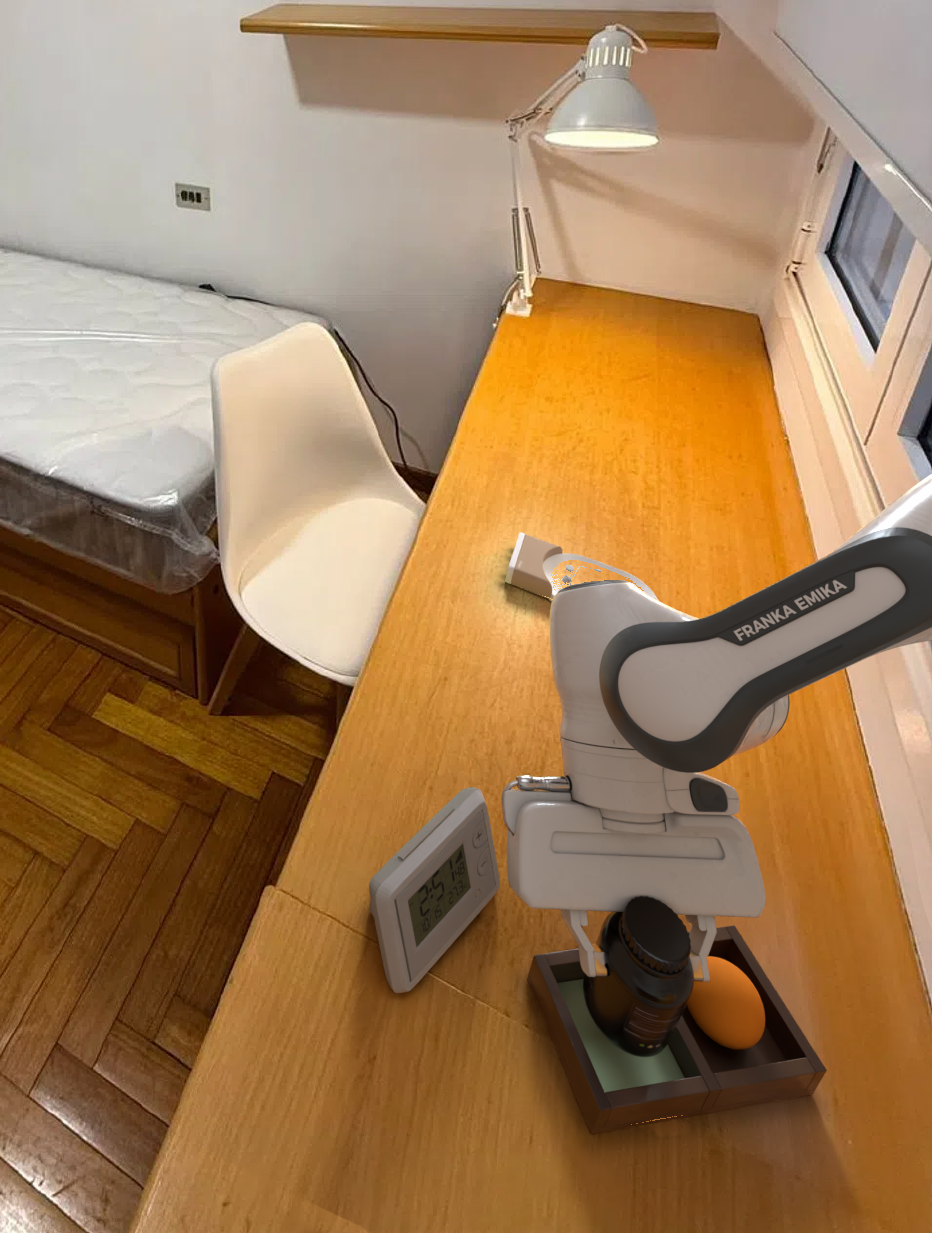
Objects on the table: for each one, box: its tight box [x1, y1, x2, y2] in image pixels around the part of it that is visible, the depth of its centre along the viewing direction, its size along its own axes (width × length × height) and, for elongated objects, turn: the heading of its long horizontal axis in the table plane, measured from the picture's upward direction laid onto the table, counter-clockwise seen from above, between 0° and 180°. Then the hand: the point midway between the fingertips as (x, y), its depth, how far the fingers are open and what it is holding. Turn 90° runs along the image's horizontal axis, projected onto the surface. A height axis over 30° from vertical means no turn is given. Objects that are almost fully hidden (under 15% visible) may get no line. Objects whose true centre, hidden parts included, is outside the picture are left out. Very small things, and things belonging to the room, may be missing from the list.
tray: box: [526, 925, 828, 1135], centre depth 71 cm, size 20×10×4 cm, turn 97°
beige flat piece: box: [504, 531, 660, 603], centre depth 118 cm, size 12×3×20 cm
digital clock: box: [368, 786, 501, 994], centre depth 78 cm, size 16×9×11 cm, turn 116°
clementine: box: [687, 956, 765, 1050], centre depth 71 cm, size 6×6×6 cm
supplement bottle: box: [583, 896, 694, 1057], centre depth 67 cm, size 7×7×12 cm
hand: (645, 976), depth 66 cm, fingers closed on supplement bottle, 7 cm apart
